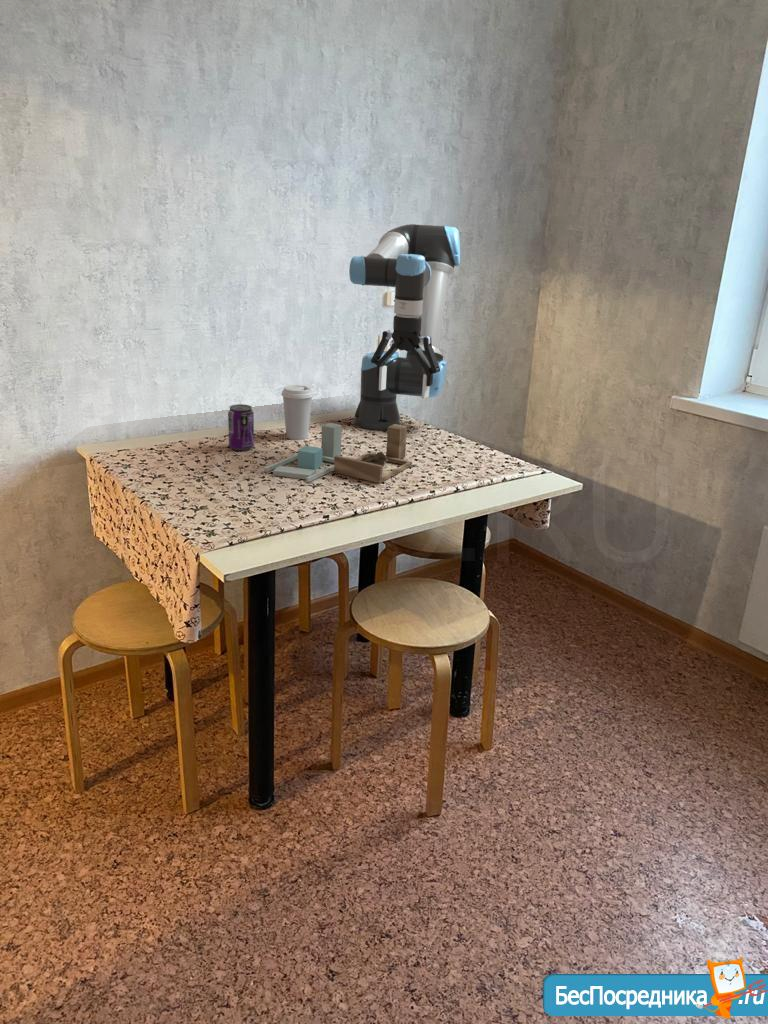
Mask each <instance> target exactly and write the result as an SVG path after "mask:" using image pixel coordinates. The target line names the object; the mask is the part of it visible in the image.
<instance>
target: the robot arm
mask: <svg viewBox="0 0 768 1024" xmlns="http://www.w3.org/2000/svg"><path fill="white" fill-rule="evenodd" d="M460 240H461V239H460V232H459V230H458V228H457V227H455V226H447V225H429V224H428V225H427V224H413V223H412V224H411V223H410V224H404V225H400V226H398V227H395V228H393V229H389V230H388V231H387V232H386V233H384V234H383V235H382V236H381V237H380V238H379V240H378V245H377V246H375V248H374V249H373V250H371V251H370V252H369V253H368V254H367V255H366V256H364V255H359V256H357V255H355V256H352V258H351V259H350V263H349V270H348V272H349V274H348V275H349V279H350V282H351V283H352V284H354V285H361V286H373V287H374V286H375V287H387V288H389V287H390V288H395V290H394V309H393V313H394V316H393V322H392V323H393V324H392V329H393V331H390V330H388V329H387V330H384V331H383V332H382V335H381V340H380V341H379V343H378V345H377V348H376V349H375V351H374V352H369V353H366V354H365V355H363V357H362V359H361V368H360V397H359V403H358V405H357V408H356V410H355V414H354V415H353V416H354V417H353V424H354V425H355V426H357V427H358V428H363V429H367V430H375V431H376V430H377V431H386V430H388V427H389V426H391V425H393V424H397V425H401V414H400V412H399V411H400V410H399V408H398V404H397V395H401V396H409V397H411V396H412V397H413V396H414V397H421V399H426V398H437V397H439V395H440V394H441V392H442V389H443V387H444V384H445V381H446V376H447V370H448V369H447V368H448V362H447V361H446V360H444V355H443V353H442V352H441V351H440V346H441V339H442V329H443V322H444V314H445V307H446V306H445V305H446V298H447V290H448V281H449V277H450V276H451V275H452V274H454V271H455V267H459V266H460V263H461V245H460V244H461V242H460ZM391 339H392V340H393V343H392V344H391V346H389V349H388V350H386V347H387V346H388V344H389V342H390V340H391ZM398 350H399V351H406V355H405V357H402V356H400V354H399V352H398Z"/></svg>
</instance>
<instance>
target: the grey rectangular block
mask: <svg viewBox="0 0 768 1024" xmlns="http://www.w3.org/2000/svg"><path fill="white" fill-rule="evenodd" d="M315 473H316V470H309V469H302V468H298V467H293V466H292V467H291V466H286V465H285V466H284V465H282V466H278V467H277V468H275V469H272V475H273V476H279V477H285V478H294V479H299V480H300V479H301V480H306V478H307V477H309V476H311V475H313V474H315Z"/></svg>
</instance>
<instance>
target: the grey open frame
mask: <svg viewBox="0 0 768 1024" xmlns="http://www.w3.org/2000/svg"><path fill="white" fill-rule="evenodd" d="M342 427H343V426H342V424H338V423H333V422H328V423H326V424H322V425H321V447H320V448H323V450H322V462H324V461H325V462H327V463H332V465H330V466H328V467H326V468H324V469H322V470H320V471H317V472H315V474H313V475H311V476H309V477H307V478H306V479H305V482H306V483H309V482H312V481H314V480H315V479H318V478H320V477H322V476H324V475H327V474H328V473H331V472H334V456H336V455H338V456H342V435H343V434H342V433H343V432H342V430H343V429H342ZM296 460H298V453H296V454H294V455H291V456H289V457H287V458H284V459H282V460H279V461H277V462H275V463H272V464H270V465H268V466H264V467H263V471H264V472H265V473H267V472H270V471H273V470H275V469H276V468H277V467H278V466H284V465H286V464H288V463H291V462H293V461H296Z"/></svg>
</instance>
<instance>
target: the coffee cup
mask: <svg viewBox="0 0 768 1024" xmlns="http://www.w3.org/2000/svg"><path fill="white" fill-rule="evenodd" d="M281 396H282V398H283V399H282V402H283V411H284V425H285V433H286V435H285V436H286V438H287V439H290V440H295V441H296V440H297V441H298V440H299V441H300V440H302V441H303V440H306V439H308V438H309V429H310V421H311V408H312V401H313V397H314V396H315V395H314V392H313V390H312V387H311V386H307V385H301V384H292V385H291V384H290V385H286V386H284V387H283V390H282V391H281Z"/></svg>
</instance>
